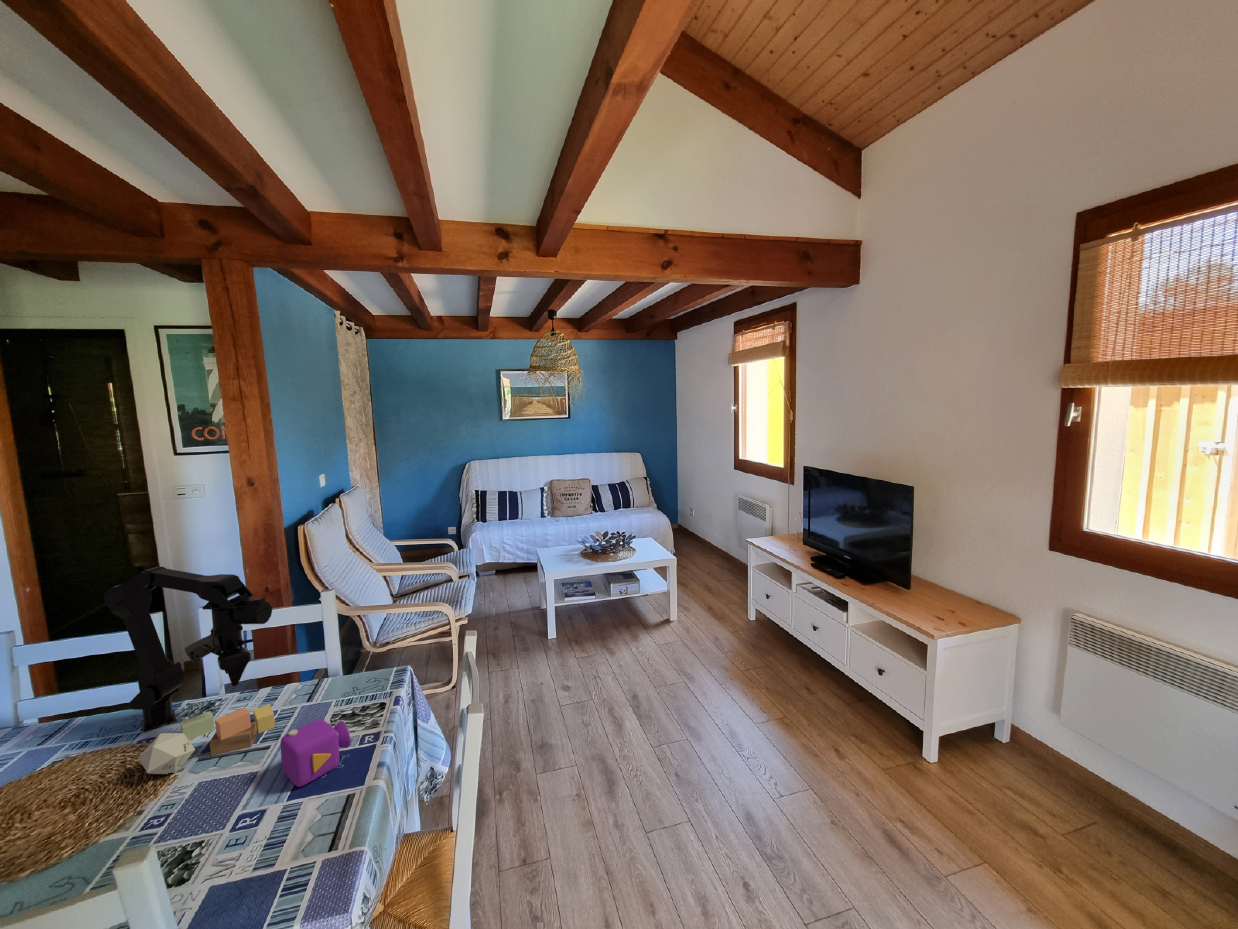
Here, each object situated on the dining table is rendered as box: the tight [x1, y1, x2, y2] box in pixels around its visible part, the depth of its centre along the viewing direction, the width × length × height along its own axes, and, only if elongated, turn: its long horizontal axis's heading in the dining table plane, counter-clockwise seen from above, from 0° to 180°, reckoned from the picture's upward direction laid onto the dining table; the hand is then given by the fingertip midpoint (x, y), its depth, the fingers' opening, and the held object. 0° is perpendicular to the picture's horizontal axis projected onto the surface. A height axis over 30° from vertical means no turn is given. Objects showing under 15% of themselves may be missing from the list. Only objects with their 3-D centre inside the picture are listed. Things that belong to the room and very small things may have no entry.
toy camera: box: [279, 718, 351, 788], centre depth 112 cm, size 11×14×10 cm
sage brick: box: [179, 710, 215, 741], centre depth 124 cm, size 4×6×4 cm, turn 140°
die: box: [138, 732, 196, 775], centre depth 111 cm, size 8×9×10 cm
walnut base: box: [209, 721, 258, 757], centre depth 119 cm, size 5×8×4 cm, turn 113°
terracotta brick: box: [214, 707, 252, 740], centre depth 119 cm, size 4×6×4 cm, turn 144°
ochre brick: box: [252, 703, 276, 734], centre depth 127 cm, size 4×6×4 cm, turn 46°
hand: (231, 679), depth 128 cm, fingers open, 9 cm apart
